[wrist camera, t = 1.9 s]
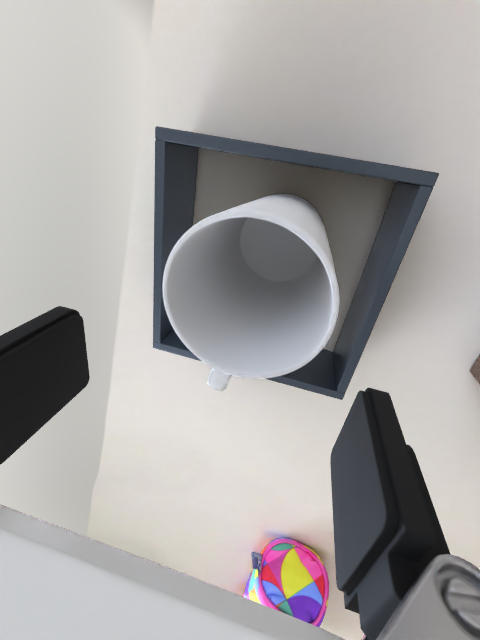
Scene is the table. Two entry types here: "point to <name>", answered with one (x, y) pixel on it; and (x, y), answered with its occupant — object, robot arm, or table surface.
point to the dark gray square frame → (406, 200)
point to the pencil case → (290, 580)
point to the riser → (476, 370)
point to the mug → (253, 289)
